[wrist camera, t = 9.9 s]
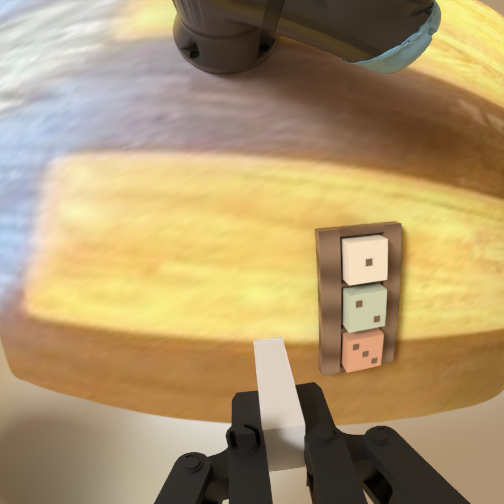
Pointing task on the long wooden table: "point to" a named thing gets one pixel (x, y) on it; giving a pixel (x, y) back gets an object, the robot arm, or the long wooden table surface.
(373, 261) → the button one cream
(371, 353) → the button three terracotta
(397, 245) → the brown wooden tray
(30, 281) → the long wooden table surface
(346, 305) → the button two sage
